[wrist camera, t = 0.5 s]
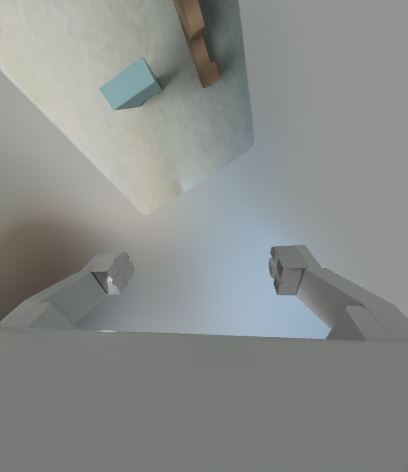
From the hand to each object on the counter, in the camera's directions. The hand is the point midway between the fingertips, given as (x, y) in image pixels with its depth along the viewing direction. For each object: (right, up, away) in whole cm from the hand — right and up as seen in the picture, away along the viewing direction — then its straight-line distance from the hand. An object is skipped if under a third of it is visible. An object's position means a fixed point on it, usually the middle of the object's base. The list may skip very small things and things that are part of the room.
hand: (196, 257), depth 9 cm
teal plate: (-13, +35, +29) cm, 48 cm away
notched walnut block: (-2, +43, +25) cm, 50 cm away
